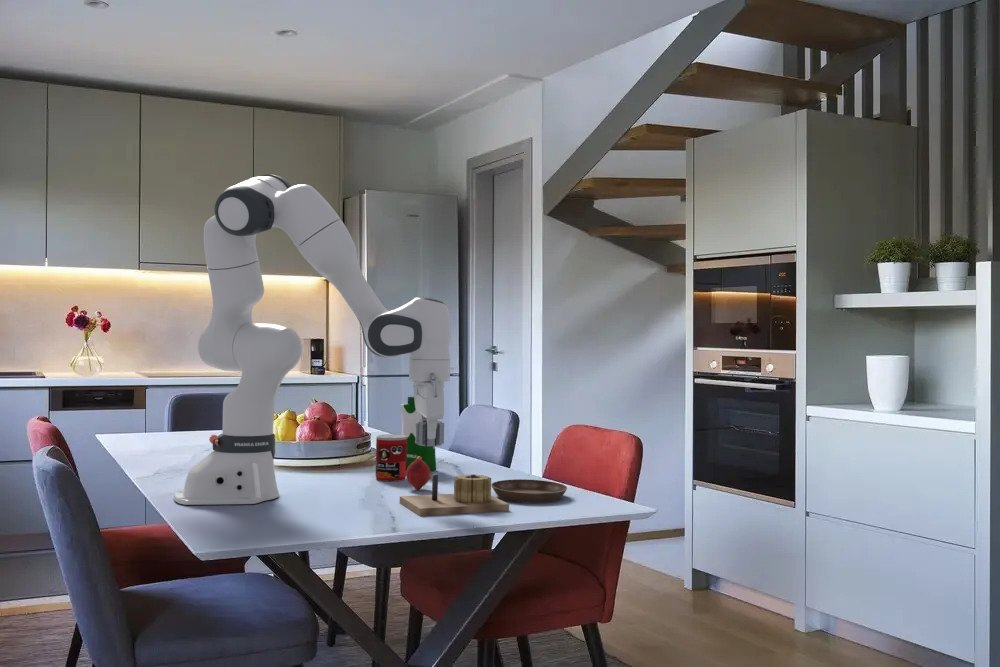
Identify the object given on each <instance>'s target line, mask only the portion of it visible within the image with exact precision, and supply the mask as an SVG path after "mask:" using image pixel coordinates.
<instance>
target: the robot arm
mask: <svg viewBox="0 0 1000 667" xmlns="http://www.w3.org/2000/svg"><path fill="white" fill-rule="evenodd" d="M217 197H218V198H217V199H216V201H215V204H214V215H213V216H211V217H210V218H208V219H207V220H206V221H205V223H204V226H203V248H204V257H205V263H206V267H207V274H208V279H209V285H210V290H211V296H212V313H211V317H210V320H209V323H208V325H207V326H206V327H205V328H204V330H203V331H202V332H201V334H200V336H199V339H198V344H197V350H198V354H199V357H200V359H201V360H202V362H203V363H204V364H205V365H206V366H210V367H212V368H215V369H219V370H222V371H224V372H225V371H227V372H241V377H240V379H239V380H240V381H239V382H238V385H237V386H236V388H235V389H234V390H232V391H231V392H229V393H228V394H226V396H225V397H224V399H223V401H222V402H223V403H222V428H221V429H222V433H220V434H218V435H217V434H215V433H214V434H211V435H210V436H209V437H208V438H209V442H210V444H212V452H210V453H209V454H207V455H206V456H205V457H204V458H202V459H201V460H199V461H198V462H197V463H196V464H194V465H193V466H192V467H191V468H190V469H189V471H188V472H187V475H186V478H185V482H184V489H182V490H178V491H176V492H175V493H174V498H173V500H174V502H176V503H178V504H180V505H181V504H182V505H186V506H187V505H190V506H192V505H193V506H194V505H195V506H198V505H199V506H200V505H202V506H203V505H254V504H258V503H261V502H264V501H271V500H274V499H277V498H279V497H280V493H279V489H278V485H277V484H278V483H277V480H276V473H275V472H276V471H275V462H274V460H275V456H276V434H275V433H274V422H275V421H274V420H275V419H274V417H275V415H274V414H275V407H276V406H275V404H276V403H275V402H276V398H277V394H278V392H279V388H280V385H281V384H282V382H283V380H284V379H285V377H286V376H287V374H288V373H290V372H291V370H293V369H294V368H295V367H296V366H297V365H298V363H299V362H300V359H301V357H302V353H303V346H302V345H303V344H302V341H301V337H300V336H299V334H298V332H297V331H296V330H294V329H293V328H291V327H288V326H284V325H282V324H281V325H280V324H277V323H264V322H263V323H260V322H257V323H256V322H253V318H252V315H253V314H252V313H253V307H254V306H256V305H257V304H258V303H259V302H261V300H262V298H263V296H264V293H265V286H264V281H263V276H262V271H261V270H262V269H261V266H260V260H259V256H258V250H257V245H256V244H257V243H256V238H257V235H258V234H259V233H263V232H267V231H269V230H270V229H271V228H278V229H281V230H282V231H283V232H284V233H286V235H287V236H288V237H289V239H291V241H292V242H293V244H294V246H295V247H296V248H297V250H298V252H299V254H301V256H302V257H303V258H304V259H305V260H306V262H308V265H309V264H310V266H311V267H312V268H313V269H314V270H315V271H316V272H317V273H318V274H319V275H320V276H322V277H323V279H325V280H327V281H328V283H330V284H332V286H333V287H334V288H335V289H336V290H337V291H338V292H339V293H340V294H341V296H342V298H343V299H344V301H345V302H346V303H347V305H348V307H349V308H350V309H351V311H352V312H353V314H354V315H355V316H356V318H357V320H358V322H359V324H360V326H361V327H360V328H361V332H362V336H363V337H362V338H363V342H364V344H365V346H366V348H367V349H368V351H370V352H371V353H372V354H374V355H375V356H377V357H381V358H395V357H399V356H400V355H405V354H408V358H409V359H408V360H409V363H408V364H409V365H408V368H409V369H408V371H409V372H408V380H409V381H411V382H412V386H413V387H412V388H413V397H414V402H415V408H416V411H418V412H419V413H420V414H421V421H425V420H427V438H428V439H435V438H436V428H437V421H438V420H443V419H444V415H445V396H444V395H445V391H444V388H445V385H444V384H445V382H450V380H451V355H450V351H449V346H450V343H451V318H450V317H451V316H450V310H449V308H448V305H447V304H446V303H444V302H443V301H441V300H438V299H434V298H429V297H424V296H418V297H414V298H413V299H412V300H410V301H408V302H407V303H405V304H403V305H401V306H399V307H397V308H394V309H392V310H389V309H387V307H385V306H384V305H383V303H382V302H381V300H380V299H379V298H378V296H377V294H376V293H375V292H374V290H373V288H372V286H370V284H369V283H368V281H367V280H366V278H365V277H364V274H363V273H362V269H361V268H360V263H359V259H358V252H357V251H358V250H357V248H356V247H357V246H356V245H355V241H354V240H353V238H352V236H351V234H350V232H349V230H348V227H347V226H346V225H345V223H344V222H343V220H342V219H341V218H340V216H339V215H338V213H337V212H336V211H335V209H334V208H333V206H331V204H330V203H329V202H328V201H327V200H326V199H325V197H324V196H323V195H322V194H321V193H320V192H319V191H318V190H317V189H315V188H314V187H313V186H312V185H310V184H304V183H303V184H302V183H301V184H296V185H292V184H291V183H290V182H289V181H288V180H287V179H285V178H284V177H281V176H280V175H275V174H263V175H260V176H254V177H250V178H246V179H244V180H242V181H240V182H239V183H237V184H235V185H231V186H229V187H227V188H226V189H225V190H224V191H222V192H221V193H220V195H219V196H217Z"/></svg>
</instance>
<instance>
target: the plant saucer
mask: <svg viewBox="0 0 1000 667" xmlns="http://www.w3.org/2000/svg"><path fill="white" fill-rule="evenodd" d="M491 489H492V490H493V491H494V493H495V494H496V495H497V497H499V499H500V500H503V501H504V500H505V501H508V502H513V503H526V504H527V503H528V504H530V503H531V504H538V503H539V504H540V503H551V502H552V503H553V502H556V501H559V500H560V499H561V498H562V497H563V496H564V495H565V493H566V491H567V490H568V486H567V485H565V484H563V483H559V482H556V481H555V482H554V481H549V480H540V479H527V478H526V479H525V478H523V479H522V478H521V479H520V478H519V479H518V478H517V479H504V480H497V481H493V482H491Z"/></svg>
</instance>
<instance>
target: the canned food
mask: <svg viewBox="0 0 1000 667" xmlns="http://www.w3.org/2000/svg"><path fill="white" fill-rule="evenodd" d="M406 468H407V436H405V435H402V434H393V433H392V434H391V433H389V434H380V435H379V434H377V435H376V439H375V479H376V480H377V481H380V480H381V481H380V482H401V481H405V480H406V479H407V477H406V472H407V471H406Z"/></svg>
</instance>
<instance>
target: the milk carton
mask: <svg viewBox="0 0 1000 667" xmlns="http://www.w3.org/2000/svg"><path fill="white" fill-rule="evenodd" d="M399 408H400V414H401V435H405V436H407V468H408V467H409V465H410V464H411V463H412V462H414V461H415V460H416V458H417V457H418V456H420V457H422V461H424V462H425V463H426V464H427V465H428V467H429V469H430V472H435V471H437V461H436V457H437V456H436V446H419V445H418V444H416V443H415V432H416V423H418V421H421V414H420V413H419V412H418V411H416V408H415V402H414V396H407V403H402V404H399ZM407 468H406V472H407Z"/></svg>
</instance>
